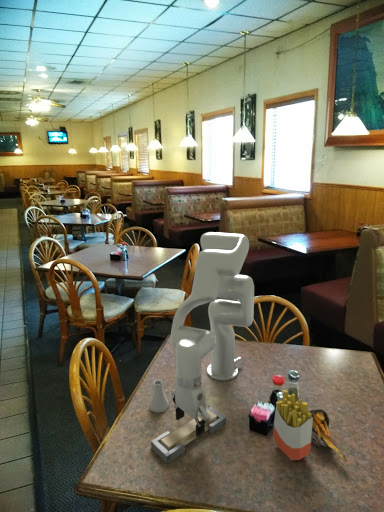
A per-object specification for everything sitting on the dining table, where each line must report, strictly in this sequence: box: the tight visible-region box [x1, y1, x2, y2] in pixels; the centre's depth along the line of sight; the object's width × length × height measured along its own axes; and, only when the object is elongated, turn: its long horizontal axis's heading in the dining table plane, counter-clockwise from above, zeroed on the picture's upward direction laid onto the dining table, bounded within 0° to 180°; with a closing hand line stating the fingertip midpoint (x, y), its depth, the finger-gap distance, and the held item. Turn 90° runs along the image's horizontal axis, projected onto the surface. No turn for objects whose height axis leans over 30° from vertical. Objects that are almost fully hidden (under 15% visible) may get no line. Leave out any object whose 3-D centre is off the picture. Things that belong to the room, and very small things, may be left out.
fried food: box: [308, 408, 349, 463], centre depth 112 cm, size 9×11×18 cm
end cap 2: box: [198, 405, 227, 434], centre depth 123 cm, size 6×8×2 cm
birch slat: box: [161, 410, 217, 451], centre depth 117 cm, size 20×4×4 cm, turn 131°
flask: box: [149, 379, 170, 414], centre depth 130 cm, size 7×7×10 cm
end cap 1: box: [150, 430, 185, 464], centre depth 111 cm, size 6×8×2 cm
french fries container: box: [272, 389, 313, 461], centre depth 108 cm, size 5×11×18 cm, turn 30°
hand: (189, 425), depth 116 cm, fingers open, 9 cm apart
